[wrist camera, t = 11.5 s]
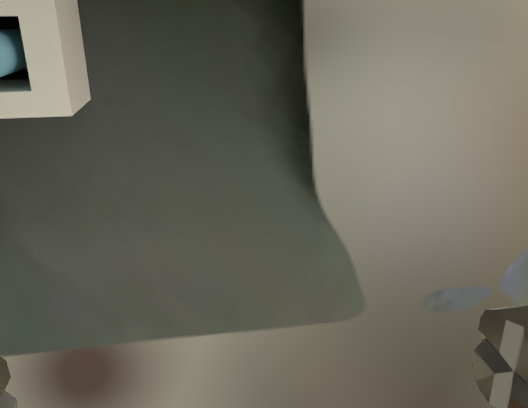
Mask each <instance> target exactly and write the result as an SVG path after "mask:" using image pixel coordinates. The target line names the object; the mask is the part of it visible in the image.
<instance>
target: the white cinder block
mask: <svg viewBox="0 0 528 408" xmlns="http://www.w3.org/2000/svg"><path fill="white" fill-rule="evenodd" d="M0 16H18V19H19V24H20V30H21V36H22V41H23V47H24V52H25V58H26V63H27V69H28V74H29V79H8V80H0V119H3V118H31V117H59V116H73V115H74V114H75V113H76V112H77V111H78V110H79V109H81V108H82V107H83V106H84V105H85V104H86V103H87V102H88V101H90V100H91V97H90V90H89V82H88V75H87V68H86V61H85V53H84V46H83V39H82V32H81V24H80V17H79V10H78V3H77V0H0Z"/></svg>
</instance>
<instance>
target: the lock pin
mask: <svg viewBox="0 0 528 408" xmlns="http://www.w3.org/2000/svg"><path fill="white" fill-rule="evenodd" d="M25 68H27V63H26V58H25V52H24V47H23V41H22V36H21V30H20V28H15V29H4V30H0V77H2V76H5V75H8V74H11V73H14V72H17V71H20V70H22V69H25Z"/></svg>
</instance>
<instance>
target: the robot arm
mask: <svg viewBox="0 0 528 408" xmlns="http://www.w3.org/2000/svg"><path fill="white" fill-rule="evenodd" d="M478 330H479V331H480V333H481V334H482V335H483V337H484V340H483V341H482V342H481V343H480V344H479V345H478V347H477V348H476V349H475V350H474V359H473V371H474V376H475V381H476V383H477V385H478V387H479V389H480V392H481V393H482V394H483V396H484V397H485V399H486V400H487V401H488V403H489V404H491V405H493V406H495V407H497V408H528V305H526V306H516V307H507V308H497V309H488V310H485V311H484V313H483V315H482V316H481V318H480V324H479V328H478ZM10 378H11V376H10V373H9V369H8V366H7V362H6V360H5V359H3V358H2V357H0V408H18V404H17V400H16V399H15V398H14V397H13V396H11V395H10V394H9V393H8V392H6V391H5V388H6V386H7V384H8V382H9V380H10Z"/></svg>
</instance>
